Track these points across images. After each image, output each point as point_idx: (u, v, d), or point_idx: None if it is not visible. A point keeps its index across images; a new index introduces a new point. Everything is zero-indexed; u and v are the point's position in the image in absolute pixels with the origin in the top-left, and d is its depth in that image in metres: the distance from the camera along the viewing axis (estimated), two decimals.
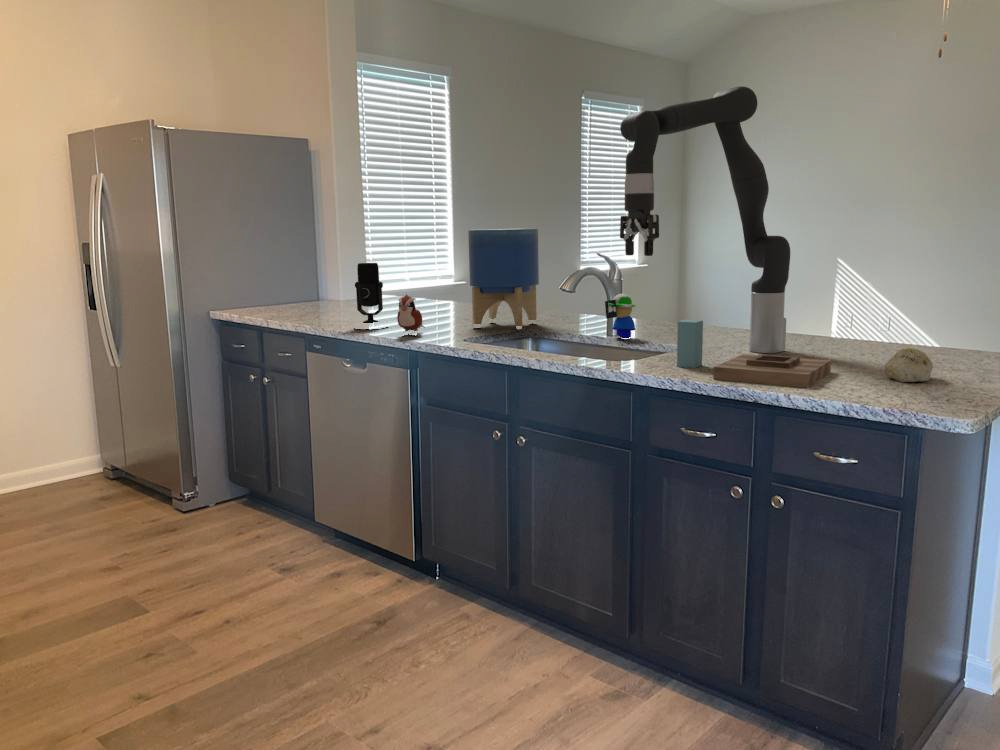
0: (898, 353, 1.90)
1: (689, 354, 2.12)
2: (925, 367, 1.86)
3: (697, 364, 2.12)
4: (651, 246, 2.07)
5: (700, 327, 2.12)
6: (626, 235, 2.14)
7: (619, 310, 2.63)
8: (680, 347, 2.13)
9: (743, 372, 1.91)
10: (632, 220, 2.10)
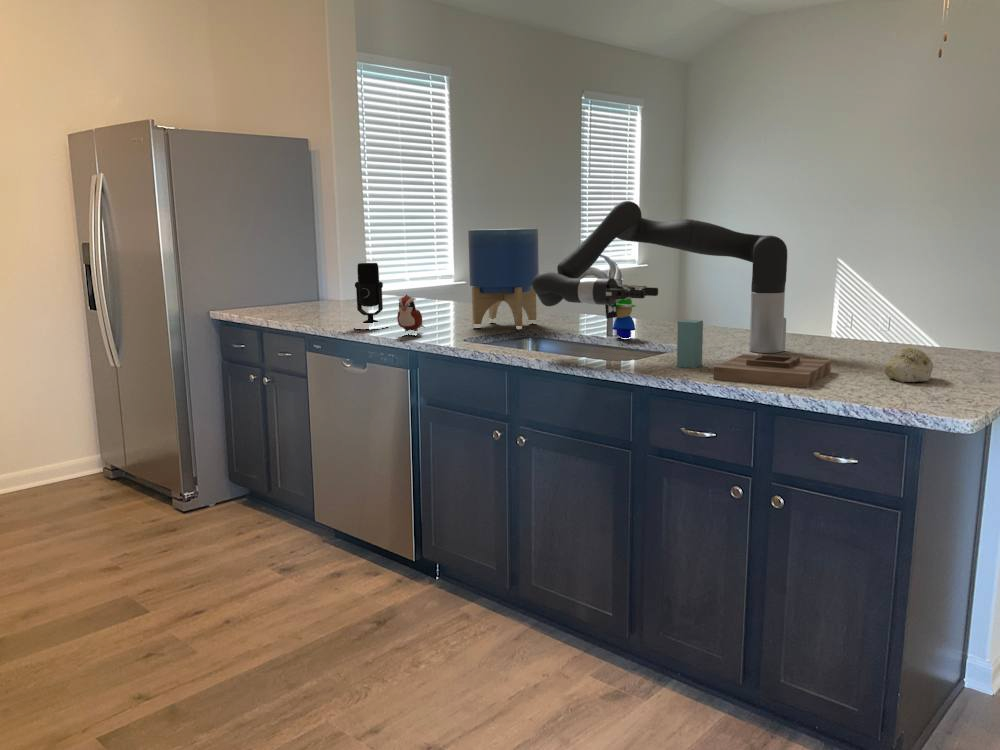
0: (898, 353, 1.89)
1: (689, 354, 2.12)
2: (925, 367, 1.86)
3: (697, 364, 2.12)
4: (634, 293, 2.15)
5: (700, 327, 2.12)
6: None
7: (619, 310, 2.63)
8: (680, 347, 2.13)
9: (743, 372, 1.91)
10: None
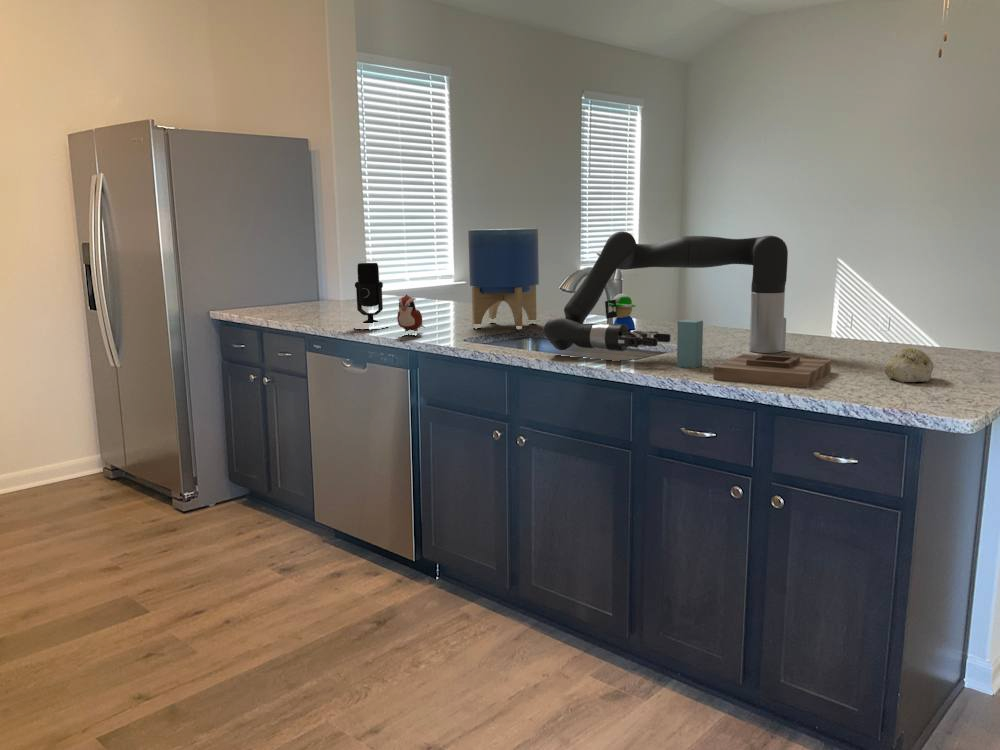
0: (899, 353, 1.89)
1: (689, 354, 2.12)
2: (926, 367, 1.86)
3: (697, 364, 2.12)
4: (647, 341, 2.15)
5: (700, 327, 2.12)
6: None
7: (619, 310, 2.63)
8: (680, 347, 2.13)
9: (743, 372, 1.91)
10: None
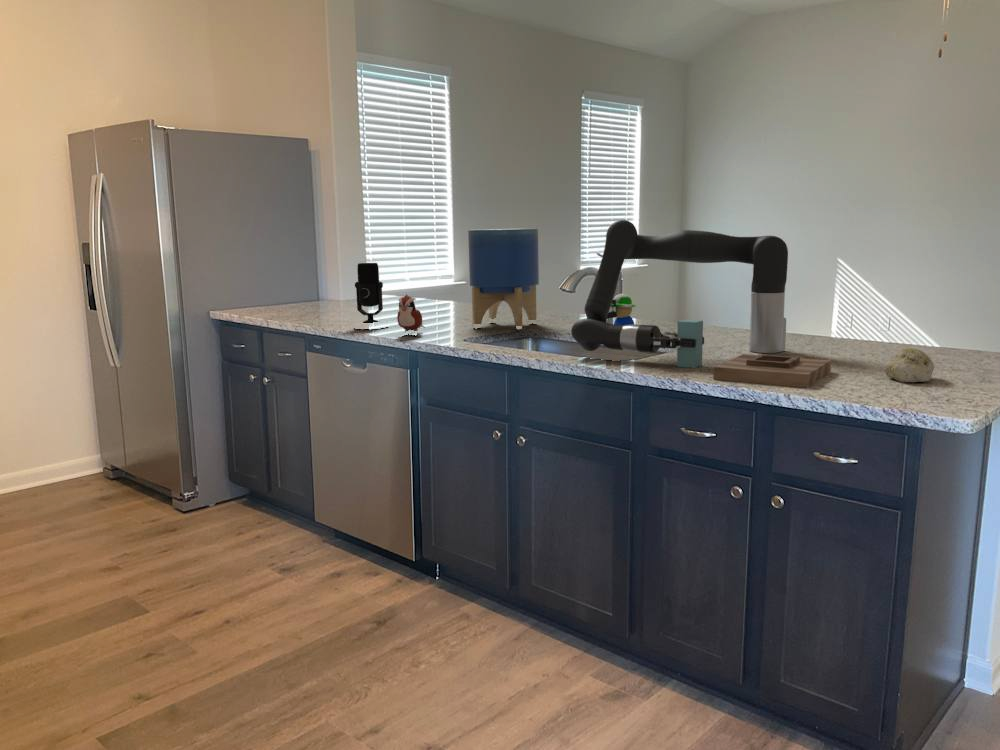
0: (899, 353, 1.89)
1: (689, 354, 2.12)
2: (926, 367, 1.85)
3: (697, 364, 2.12)
4: (685, 342, 2.10)
5: (700, 327, 2.12)
6: None
7: (619, 310, 2.63)
8: (680, 347, 2.13)
9: (743, 372, 1.91)
10: None
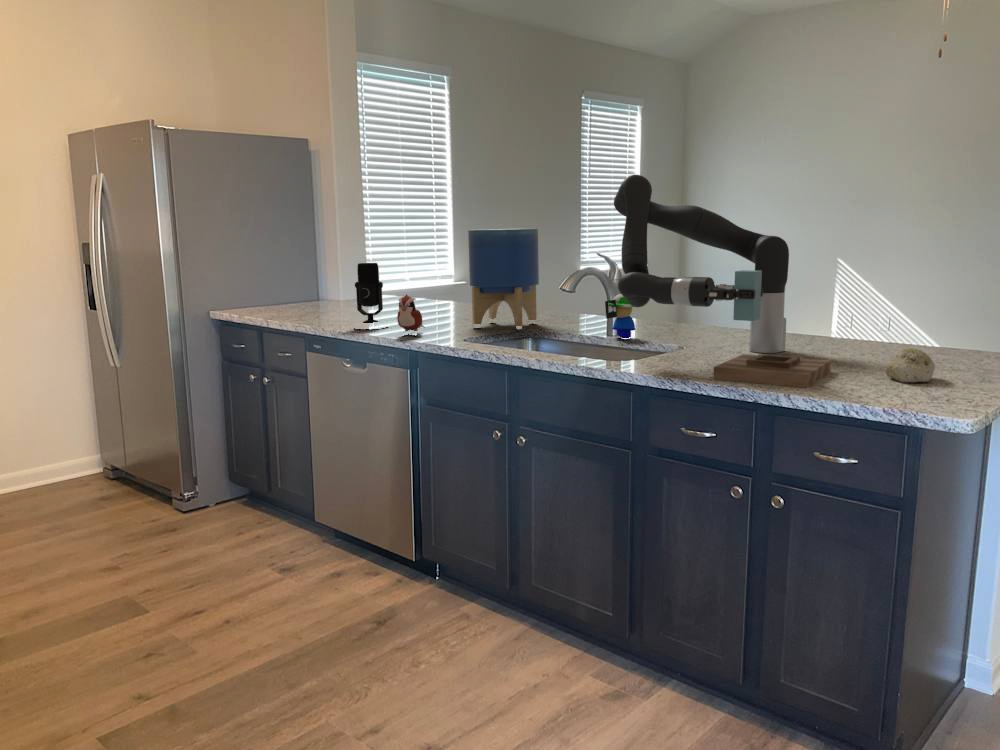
0: (899, 353, 1.89)
1: (747, 306, 1.98)
2: (926, 367, 1.85)
3: (755, 317, 1.99)
4: (743, 293, 1.96)
5: (759, 277, 1.98)
6: None
7: (619, 310, 2.63)
8: None
9: (743, 372, 1.91)
10: None
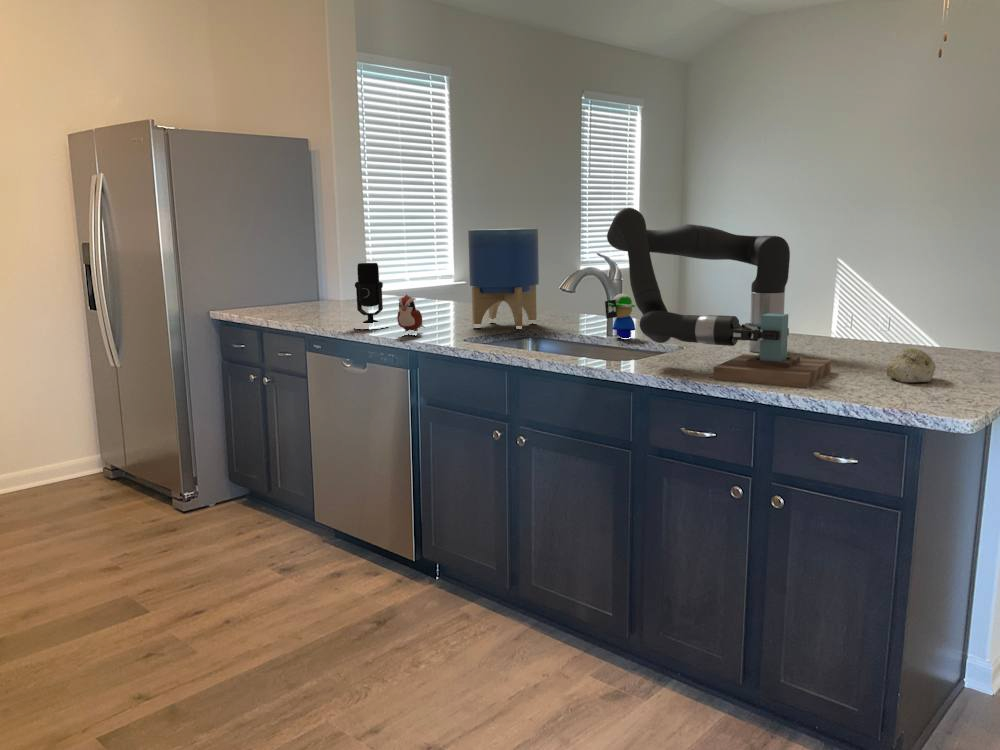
0: (900, 353, 1.89)
1: (773, 351, 1.95)
2: (927, 368, 1.85)
3: None
4: (768, 334, 1.93)
5: (786, 321, 1.95)
6: None
7: (619, 310, 2.63)
8: (764, 343, 1.96)
9: (743, 372, 1.91)
10: None
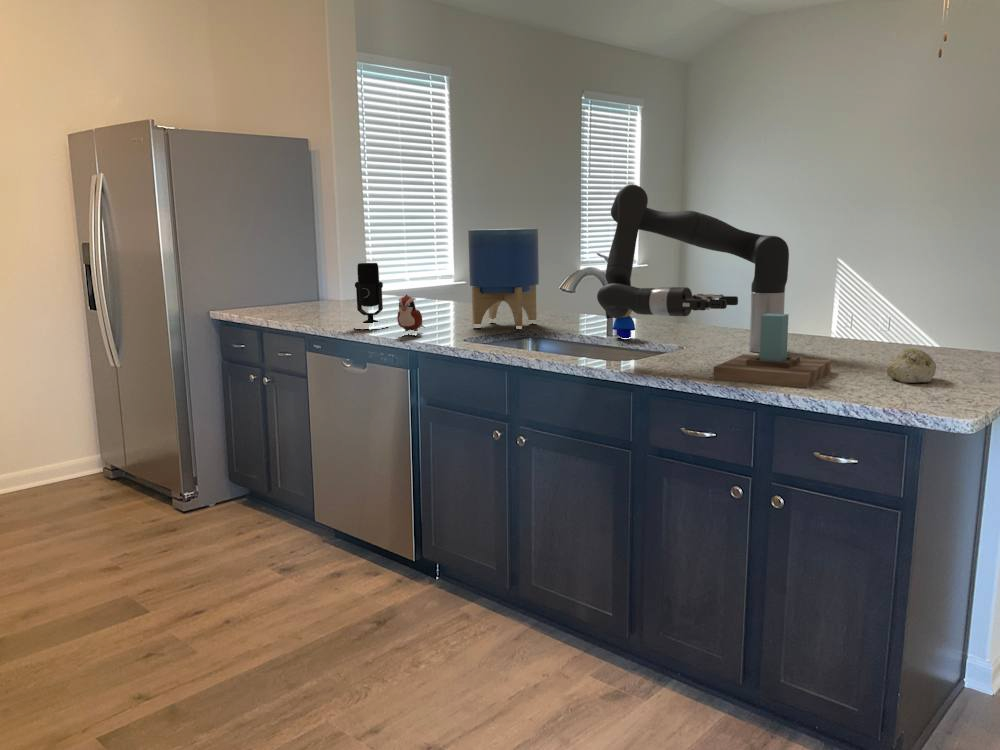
0: (901, 354, 1.89)
1: (773, 351, 1.95)
2: (927, 368, 1.85)
3: None
4: (715, 304, 1.98)
5: (786, 322, 1.95)
6: None
7: None
8: (764, 343, 1.96)
9: (743, 372, 1.91)
10: None
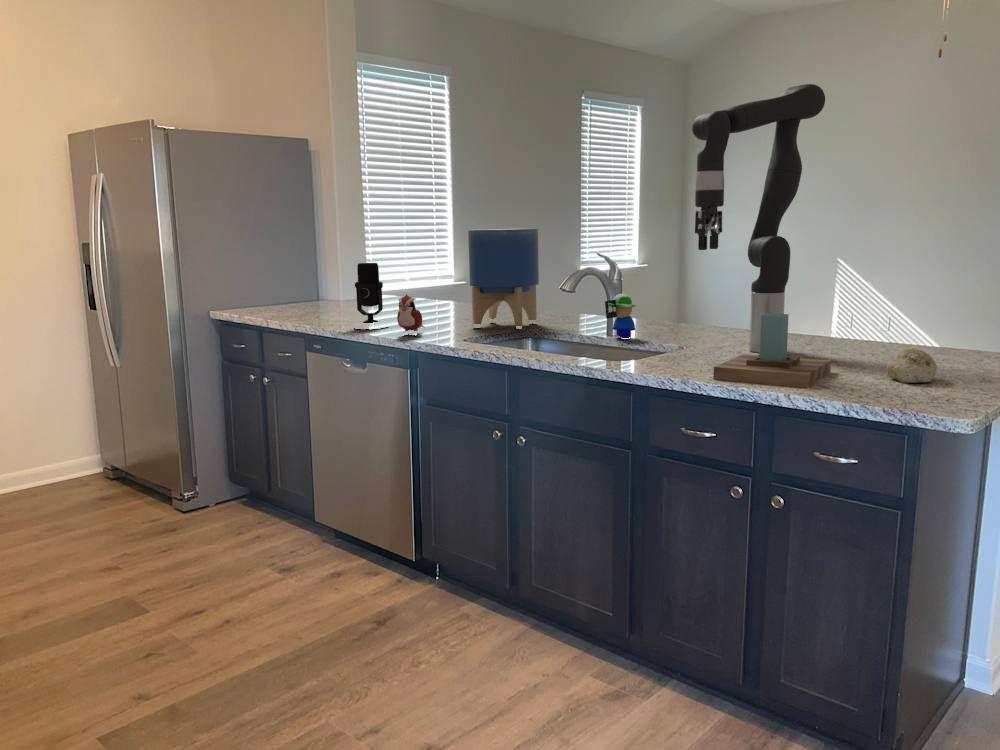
0: (901, 354, 1.89)
1: (773, 351, 1.95)
2: (928, 368, 1.85)
3: None
4: (701, 241, 2.17)
5: (786, 322, 1.95)
6: None
7: (619, 310, 2.63)
8: (764, 343, 1.96)
9: (743, 372, 1.91)
10: None
